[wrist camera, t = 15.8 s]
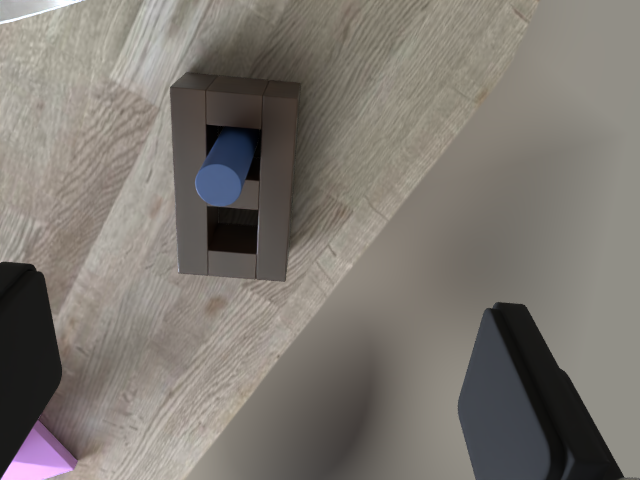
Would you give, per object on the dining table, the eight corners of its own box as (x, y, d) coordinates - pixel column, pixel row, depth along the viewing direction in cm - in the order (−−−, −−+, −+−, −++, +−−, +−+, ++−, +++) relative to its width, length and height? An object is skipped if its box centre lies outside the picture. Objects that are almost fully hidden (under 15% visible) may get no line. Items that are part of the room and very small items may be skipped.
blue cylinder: (260, 117, 43) (242, 165, 34) (259, 152, 45) (241, 208, 35) (223, 113, 43) (194, 161, 34) (223, 149, 45) (195, 204, 35)
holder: (301, 82, 42) (298, 98, 38) (289, 252, 50) (285, 282, 45) (186, 72, 42) (169, 86, 37) (191, 244, 49) (178, 273, 45)
